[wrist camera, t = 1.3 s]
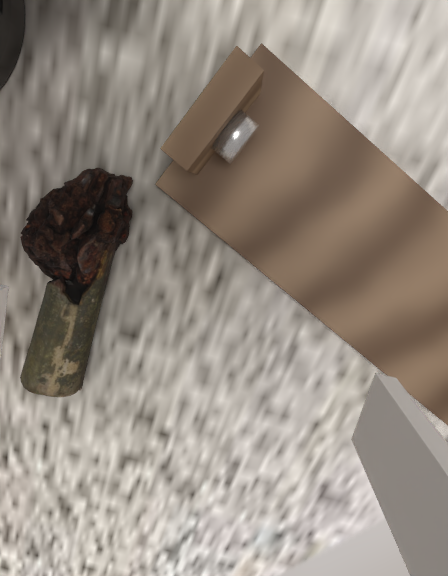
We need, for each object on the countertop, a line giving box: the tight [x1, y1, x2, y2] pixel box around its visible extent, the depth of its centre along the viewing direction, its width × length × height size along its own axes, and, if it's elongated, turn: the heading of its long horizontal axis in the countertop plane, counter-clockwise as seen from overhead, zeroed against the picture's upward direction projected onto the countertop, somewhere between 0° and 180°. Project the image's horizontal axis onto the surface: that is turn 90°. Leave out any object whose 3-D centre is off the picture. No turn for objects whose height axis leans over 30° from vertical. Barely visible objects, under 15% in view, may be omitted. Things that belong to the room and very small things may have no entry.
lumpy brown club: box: [20, 168, 133, 397], centre depth 32 cm, size 18×7×6 cm, turn 160°
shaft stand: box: [156, 43, 448, 425], centre depth 29 cm, size 30×12×8 cm, turn 51°
